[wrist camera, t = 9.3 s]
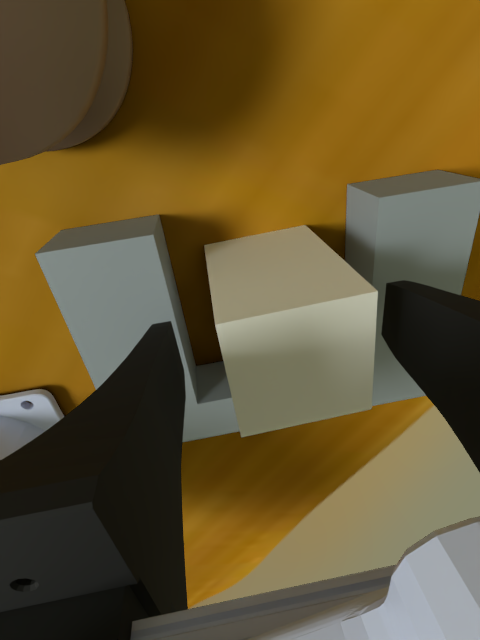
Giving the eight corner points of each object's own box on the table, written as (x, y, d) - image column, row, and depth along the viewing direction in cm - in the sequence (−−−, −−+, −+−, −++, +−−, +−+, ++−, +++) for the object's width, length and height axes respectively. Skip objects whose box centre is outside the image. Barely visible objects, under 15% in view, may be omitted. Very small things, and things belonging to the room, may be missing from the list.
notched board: (132, 410, 17) (125, 453, 15) (61, 230, 12) (34, 253, 10) (408, 359, 18) (438, 392, 16) (437, 169, 13) (486, 180, 11)
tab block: (222, 330, 15) (241, 437, 10) (203, 244, 13) (215, 325, 8) (310, 312, 16) (371, 408, 10) (305, 224, 14) (377, 290, 8)
